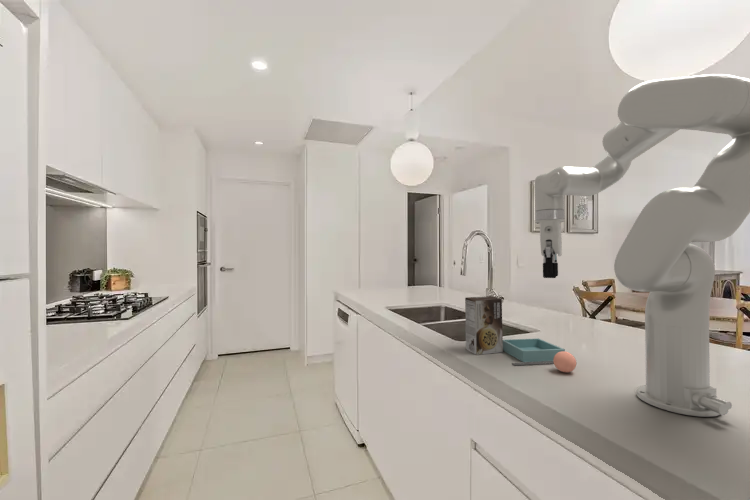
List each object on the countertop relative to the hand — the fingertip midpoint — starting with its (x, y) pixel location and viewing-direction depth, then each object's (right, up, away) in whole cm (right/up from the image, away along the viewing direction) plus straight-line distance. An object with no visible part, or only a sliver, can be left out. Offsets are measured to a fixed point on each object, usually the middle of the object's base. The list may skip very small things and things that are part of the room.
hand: (550, 276), depth 98 cm
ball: (-3, -20, -13) cm, 24 cm away
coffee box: (-17, -23, +6) cm, 29 cm away
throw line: (-6, -23, -7) cm, 24 cm away
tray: (-5, -23, +2) cm, 23 cm away
